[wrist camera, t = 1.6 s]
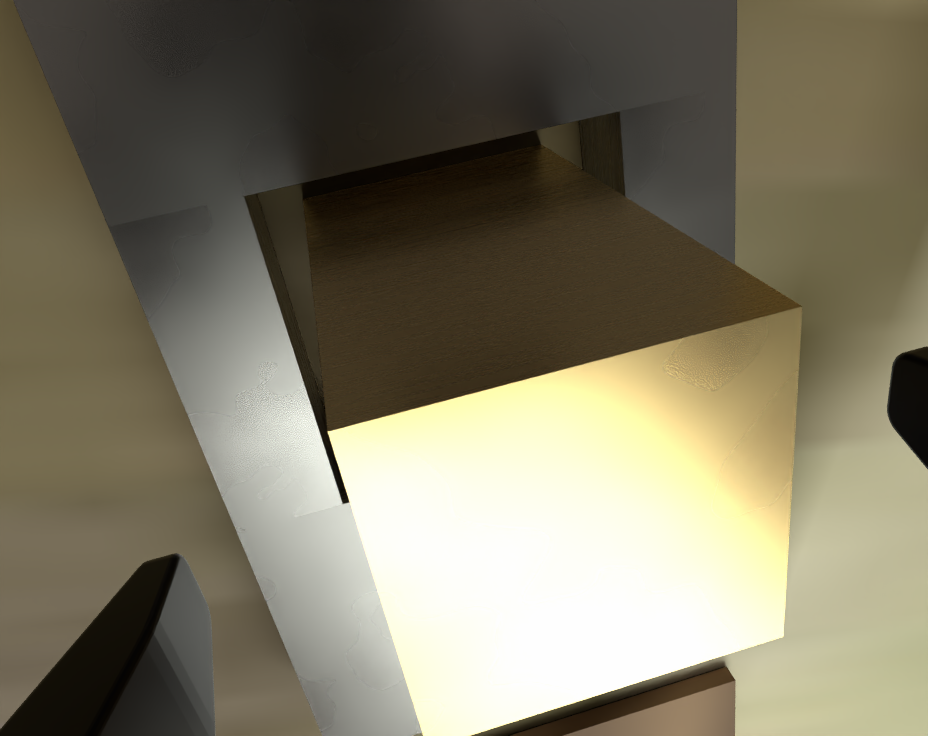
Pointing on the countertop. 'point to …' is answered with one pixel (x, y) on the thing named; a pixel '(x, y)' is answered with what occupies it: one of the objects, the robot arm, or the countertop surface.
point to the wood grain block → (551, 433)
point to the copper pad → (658, 712)
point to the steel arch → (333, 153)
